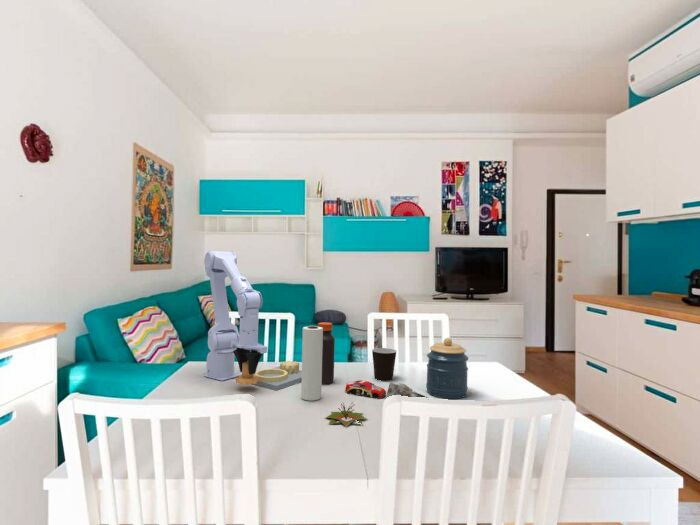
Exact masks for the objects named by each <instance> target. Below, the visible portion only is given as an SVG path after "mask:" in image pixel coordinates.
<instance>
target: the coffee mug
mask: <svg viewBox="0 0 700 525" xmlns="http://www.w3.org/2000/svg"><path fill="white" fill-rule="evenodd" d="M371 351H372V364H373V374H374V380H376V379H377V380H376V381H378V380H381V381H380V382H391V381H392V380H393V378H394V372H395V366H396V365H395V364H396V357H397V349H395V348H394V349H393V348H387V347H377V348H376V347H375V348H372V350H371ZM390 380H391V381H390Z"/></svg>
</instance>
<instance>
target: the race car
mask: <svg viewBox="0 0 700 525" xmlns="http://www.w3.org/2000/svg"><path fill="white" fill-rule="evenodd" d="M344 388H345V389H344V391H345V392H346V393H347V394H349V395H353V396H354V395H356V396H362V397H368V398H373V399H376V398H377V399H380V398H386V395H387V390H386V389H385V388H383V387H382V386H378V385H375V383H372V382H370V381H367V380H360V379H359V380H355V381H349V382H347V383H346V385H345V387H344Z"/></svg>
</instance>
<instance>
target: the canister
mask: <svg viewBox="0 0 700 525" xmlns="http://www.w3.org/2000/svg"><path fill="white" fill-rule="evenodd" d="M429 349H430V352H428V353H426V357H427V358H428V362H427V364H426V384H425V385H426V386H425V388H426V392H427V394H429V393H430V394H429V395H431V394H432V395H431V396H433V395H435V396H434V397H436V396H437V398H440V397H441V398H442V399H449V400H450V399H453V400H455V399H456V398H457V399H463V398H465V397H466V396H467V393H468V387H469V386H468V372H469V368H468V364H467V363H468V362H467V361H468V360H469V356H468V355H466V352H467V350H466V349H465V347H463V346H462V345H461V344H458V343H454V342H453V341H452V339H451V338H449V337H445V338H444V339H443V342H436V343H434V345H431V346H430V347H429Z"/></svg>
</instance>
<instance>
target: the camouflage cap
mask: <svg viewBox="0 0 700 525" xmlns="http://www.w3.org/2000/svg"><path fill="white" fill-rule="evenodd" d="M392 395H401V396H408V397H426V398H428V397H427V396H425V395H423V394H421V393H418V392H417V391H414V390H413V389H412V388H409V387H408V386H407V384H405V383H394V382H391V381H389V385H388V389H387V390H386V396H385V399H386V398H387V397H389V396H392Z"/></svg>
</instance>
